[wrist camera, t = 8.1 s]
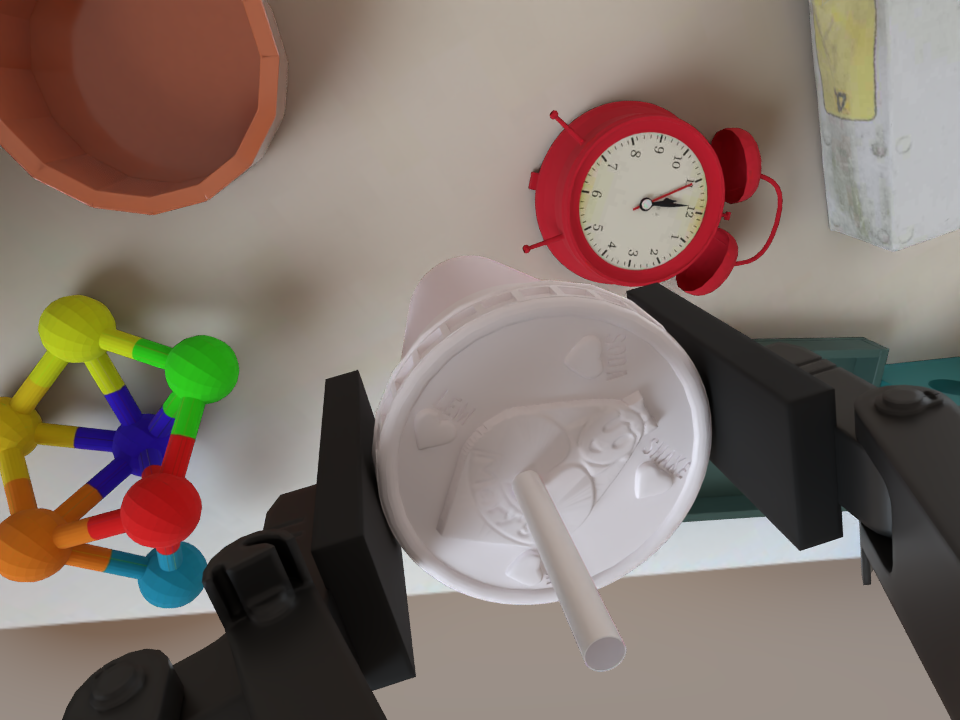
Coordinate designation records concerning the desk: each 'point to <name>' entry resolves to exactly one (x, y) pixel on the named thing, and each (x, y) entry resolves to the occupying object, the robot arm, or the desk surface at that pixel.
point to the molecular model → (136, 448)
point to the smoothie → (537, 441)
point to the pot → (139, 96)
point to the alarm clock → (645, 197)
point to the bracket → (927, 375)
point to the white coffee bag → (889, 117)
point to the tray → (849, 353)
